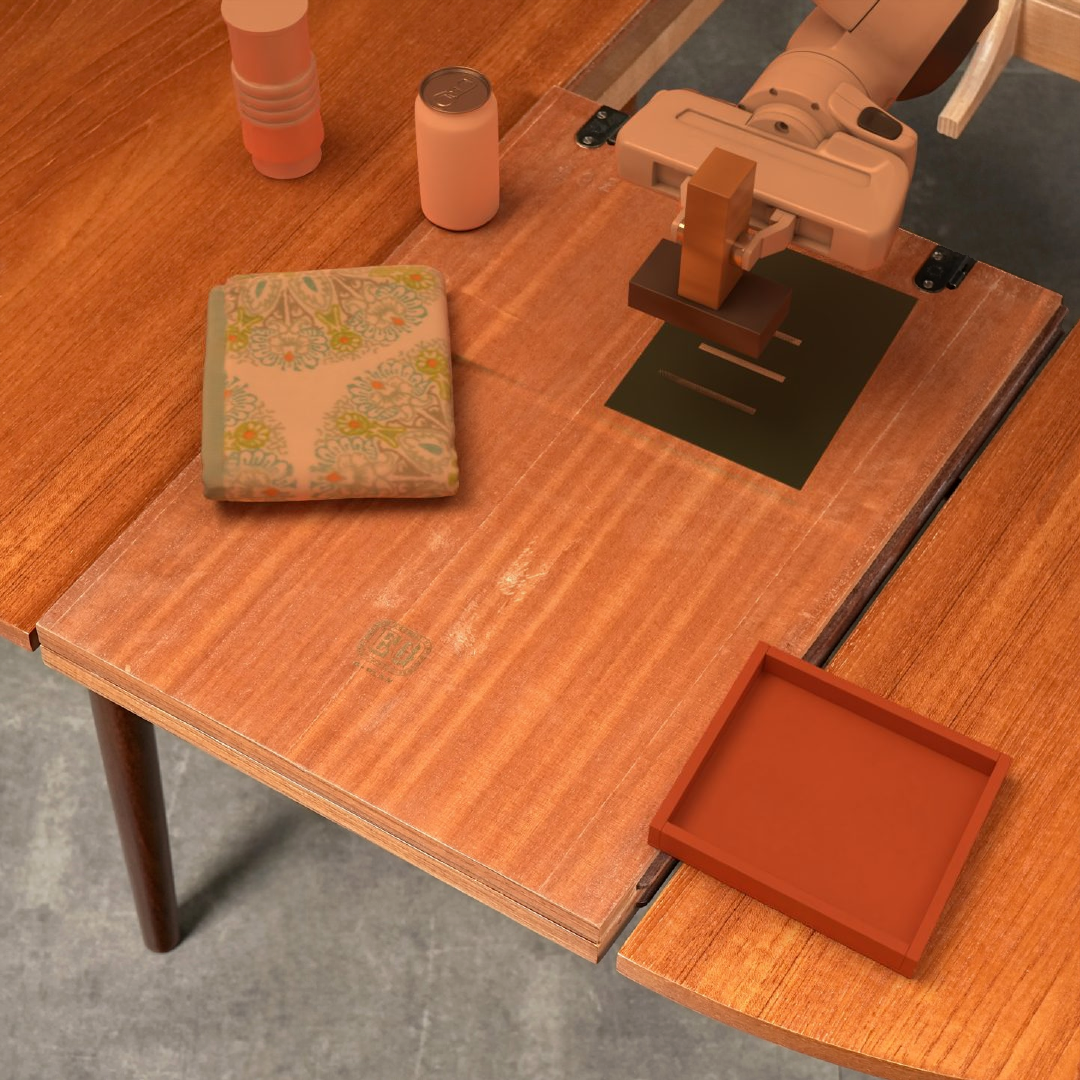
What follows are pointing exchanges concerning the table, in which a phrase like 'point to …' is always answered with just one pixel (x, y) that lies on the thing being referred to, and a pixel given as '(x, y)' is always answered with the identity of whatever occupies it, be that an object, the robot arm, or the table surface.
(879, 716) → the tray
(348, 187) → the table surface
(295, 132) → the pink ridged cylinder
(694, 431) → the slate board
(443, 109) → the can
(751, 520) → the table surface
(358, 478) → the towel
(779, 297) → the duster
